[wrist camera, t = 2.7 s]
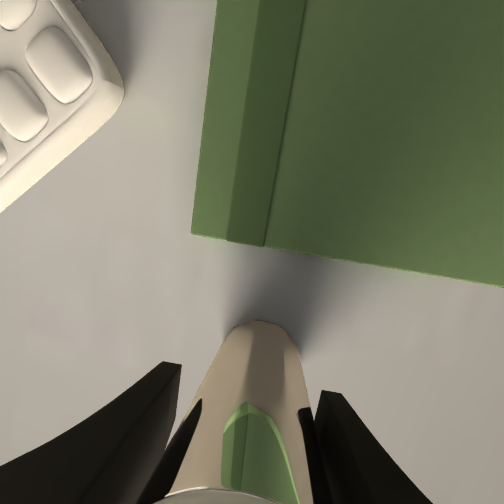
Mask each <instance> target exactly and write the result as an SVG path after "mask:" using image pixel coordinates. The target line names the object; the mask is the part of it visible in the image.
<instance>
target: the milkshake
mask: <svg viewBox="0 0 504 504" xmlns="http://www.w3.org/2000/svg"><path fill="white" fill-rule="evenodd" d="M135 504H334V501H333V497H332V493H331V489H330V485H329V482H328V478H327V474H326V470H325V466H324V462H323V458H322V454H321V450H320V446H319V442H318V438H317V434H316V429H315V425H314V420H313V415H312V411H311V406H310V402H309V397H308V393H307V388H306V384H305V379H304V375H303V370H302V366H301V361H300V357H299V352H298V348H297V345H296V344H295V342H294V341H293V340H292V339H291V338H290V337H289V335H288V334H287V333H286V332H285V331H284V329H283V328H282V327H281V326H277V325H274V324H270V323H267V322H263V321H260V320H255V321H252V322H249V323H246V324H242V325H239V326H236V327H234V328H233V329H232V331H231V332H230V334H229V335H228V336H227V338H226V339H225V341H224V342H223V344H222V345H221V346H220V348H219V350H218V352H217V354H216V356H215V358H214V360H213V362H212V364H211V366H210V368H209V370H208V372H207V374H206V375H205V377H204V379H203V381H202V383H201V385H200V387H199V389H198V391H197V393H196V395H195V397H194V399H193V401H192V403H191V405H190V407H189V409H188V410H187V412H186V414H185V416H184V418H183V420H182V422H181V424H180V426H179V428H178V429H177V431H176V433H175V434H174V436H173V438H172V439H171V441H170V443H169V444H168V446H167V448H166V450H165V451H164V453H163V455H162V457H161V458H160V460H159V462H158V464H157V466H156V467H155V469H154V471H153V473H152V474H151V476H150V478H149V480H148V481H147V483H146V485H145V487H144V489H143V490H142V492H141V494H140V496H139V497H138V499H137V501H136V503H135Z"/></svg>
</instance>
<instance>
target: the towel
mask: <svg viewBox="0 0 504 504" xmlns="http://www.w3.org/2000/svg"><path fill="white" fill-rule="evenodd" d="M191 234H193V235H198V236H204V237H210V238H216V239H222V240H226V241H229V242H235V243H241V244H247V245H253V246H259V247H269V248H275V249H280V250H286V251H292V252H298V253H304V254H310V255H315V256H321V257H327V258H333V259H339V260H345V261H351V262H356V263H362V264H368V265H374V266H380V267H386V268H392V269H397V270H403V271H409V272H415V273H421V274H427V275H433V276H438V277H444V278H450V279H456V280H462V281H468V282H473V283H479V284H485V285H491V286H497V287H503V288H504V0H217V9H216V17H215V26H214V35H213V44H212V52H211V61H210V70H209V78H208V87H207V96H206V104H205V113H204V122H203V131H202V139H201V148H200V157H199V165H198V174H197V183H196V191H195V200H194V209H193V217H192V226H191Z"/></svg>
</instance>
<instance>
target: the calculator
mask: <svg viewBox="0 0 504 504" xmlns="http://www.w3.org/2000/svg"><path fill="white" fill-rule="evenodd" d="M123 96H124V87H123V82H122V77H121V75H120V73H119V71H118V69H117V67H116V65H115V63H114V62H113V60H112V59H111V57H110V55H109V54H108V52H107V51H106V49H105V48H104V46H103V45H102V43H101V42H100V40H99V39H98V38H97V36H96V35H95V33H94V32H93V31H92V29H91V28H90V26H89V25H88V24H87V22H86V21H85V19H84V18H83V17H82V15H81V14H80V12H79V11H78V10H77V8H76V7H75V5H74V4H73V3H72V1H71V0H0V213H1V212H2V211H3V210H4V209H5V208H7V207H8V206H9V205H10V204H11V203H13V202H14V201H15V200H16V199H17V198H18V197H20V196H21V195H22V194H23V193H24V192H25V191H27V190H28V189H29V188H30V187H31V186H32V185H34V184H35V183H36V182H37V181H38V180H40V179H41V178H42V177H43V176H44V175H45V174H47V173H48V172H49V171H50V170H51V169H52V168H54V167H55V166H56V165H57V164H58V163H59V162H61V161H62V160H63V159H64V158H65V157H67V156H68V155H69V154H70V153H71V152H72V151H74V150H75V149H76V148H77V147H78V146H79V145H81V144H82V143H83V142H84V141H85V140H86V139H88V138H89V137H90V136H91V135H92V134H93V133H95V132H96V131H97V130H98V129H99V128H100V127H101V126H102V125H103V124H104V123H105V122H106V121H107V120H108V119H110V118H111V117H112V116H113V115H114V113H115V112H116V111H117V109H118V108H119V106H120V105H121V104H122V100H123Z"/></svg>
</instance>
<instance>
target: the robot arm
mask: <svg viewBox="0 0 504 504" xmlns="http://www.w3.org/2000/svg"><path fill="white" fill-rule="evenodd" d="M181 367H182V365H181V364H175V363H170V362H164V361H163V362H161V363H160V364H158V365H157V366H156V367H155V368H154V369H152V370H151V371H150V372H149V373H147V374H146V375H145V376H144V377H143V378H141V379H140V380H139V381H138V382H136V383H135V384H134V385H133V386H131V387H130V388H129V389H127V390H126V391H125V392H123V393H122V394H121V395H119V396H118V397H117V398H115V399H114V400H113V401H111V402H110V403H109V404H107V405H106V406H104V407H103V408H101V409H100V410H98V411H97V412H95V413H94V414H93V415H91V416H90V417H88V418H87V419H85V420H84V421H82V422H81V423H79V424H77V425H76V426H74V427H73V428H71V429H69V430H68V431H66V432H64V433H63V434H61V435H59V436H58V437H56V438H54V439H52V440H51V441H49V442H47V443H45V444H43V445H42V446H40V447H38V448H36V449H34V450H32V451H30V452H28V453H26V454H24V455H22V456H20V457H18V458H16V459H14V460H12V461H10V462H8V463H6V464H4V465H2V466H0V504H135V503H136V501H137V499H138V497H139V496H140V494H141V492H142V490H143V489H144V487H145V485H146V483H147V481H148V480H149V478H150V476H151V474H152V473H153V471H154V469H155V467H156V466H157V464H158V462H159V460H160V458H161V457H162V455H163V453H164V451H165V448H166V445H167V442H168V439H169V436H170V433H171V430H172V427H173V424H174V421H175V417H176V408H177V400H178V392H179V383H180V375H181ZM314 425H315V429H316V434H317V438H318V442H319V446H320V450H321V454H322V458H323V462H324V466H325V470H326V474H327V478H328V482H329V485H330V489H331V493H332V497H333V501H334V504H433V503H432V502H431V501H430V500H429V499H428V498H427V497H426V496H425V495H424V494H423V493H422V492H421V491H420V490H419V489H418V488H417V487H416V486H415V484H414V483H413V482H412V481H411V480H410V479H409V478H408V477H407V475H406V474H405V473H404V472H403V471H402V470H401V469H400V467H399V466H398V465H397V464H396V463H395V462H394V460H393V459H392V458H391V457H390V456H389V454H388V453H387V452H386V451H385V450H384V448H383V447H382V446H381V445H380V443H379V442H378V441H377V440H376V438H375V437H374V436H373V435H372V433H371V432H370V431H369V429H368V428H367V427H366V426H365V424H364V423H363V422H362V420H361V419H360V418H359V416H358V415H357V414H356V412H355V411H354V410H353V408H352V407H351V406H350V404H349V403H348V402H347V400H346V399H345V398H344V396H343V395H342V394H341V393H336V392H330V391H325V390H322V392H321V396H320V400H319V404H318V408H317V412H316V416H315V420H314Z"/></svg>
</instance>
